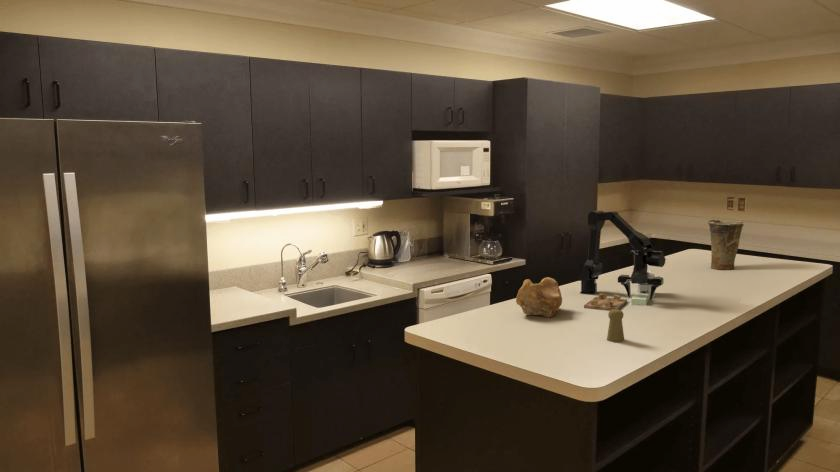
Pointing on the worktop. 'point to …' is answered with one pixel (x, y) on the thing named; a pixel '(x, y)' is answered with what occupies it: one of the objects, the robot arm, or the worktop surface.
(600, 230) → the robot arm
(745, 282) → the worktop surface
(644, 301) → the pale green board
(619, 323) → the olive tapered pillar
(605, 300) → the walnut plate
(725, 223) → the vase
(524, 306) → the rough brown rock
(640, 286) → the light bulb box
